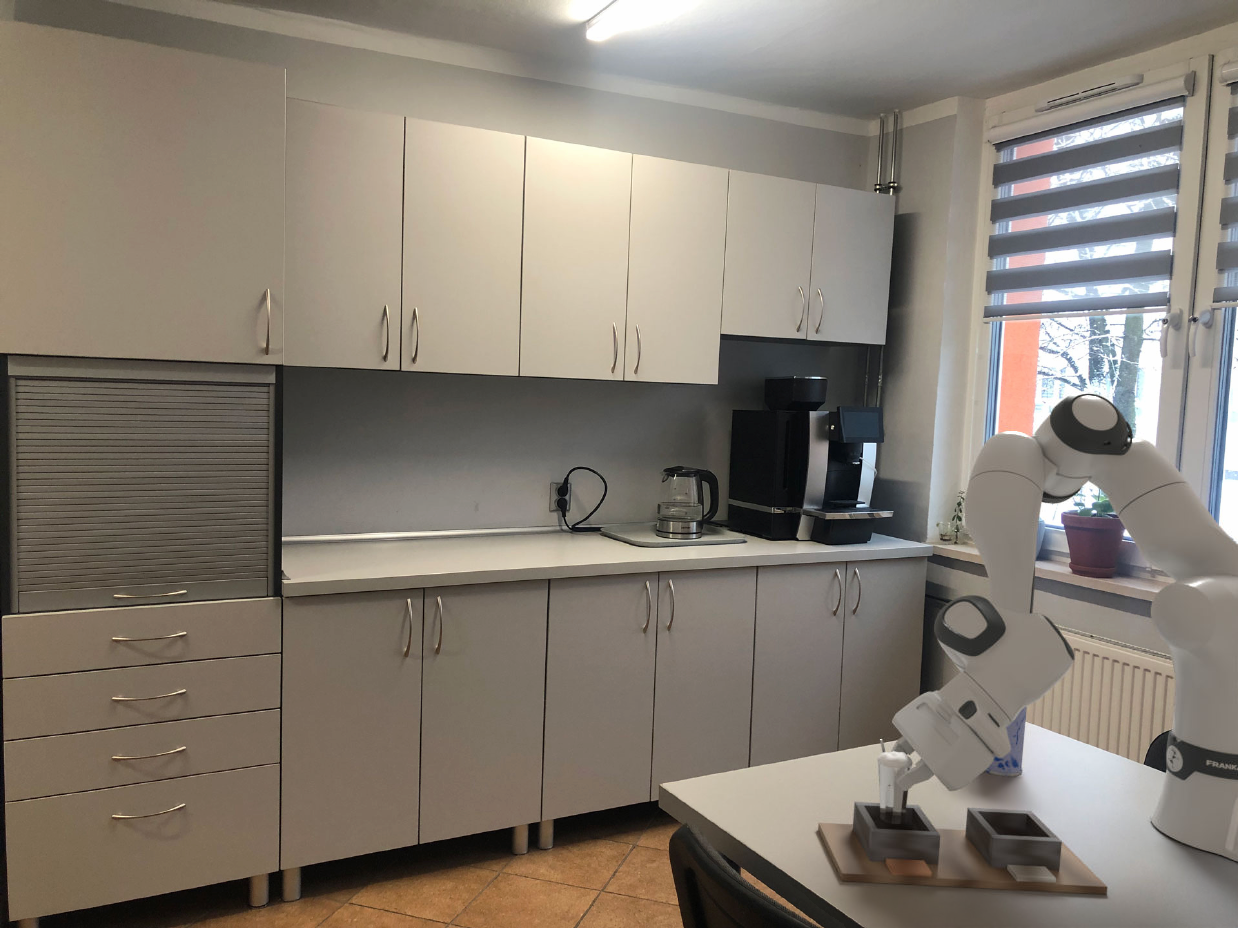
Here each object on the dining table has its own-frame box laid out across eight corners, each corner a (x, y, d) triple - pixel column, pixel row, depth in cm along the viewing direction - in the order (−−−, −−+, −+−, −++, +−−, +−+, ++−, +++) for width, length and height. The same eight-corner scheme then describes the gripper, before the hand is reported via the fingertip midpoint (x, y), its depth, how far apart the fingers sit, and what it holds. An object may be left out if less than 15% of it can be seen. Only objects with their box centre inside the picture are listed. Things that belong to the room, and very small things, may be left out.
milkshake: (891, 808, 128) (894, 737, 127) (916, 823, 123) (920, 750, 122) (864, 811, 126) (867, 740, 126) (888, 827, 121) (892, 753, 121)
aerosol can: (1005, 757, 162) (1014, 647, 160) (1032, 775, 154) (1041, 660, 152) (964, 758, 160) (973, 646, 159) (989, 776, 153) (998, 659, 151)
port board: (1054, 841, 130) (1057, 807, 130) (1106, 894, 116) (1110, 856, 116) (818, 829, 130) (820, 795, 130) (841, 880, 116) (844, 842, 116)
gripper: (929, 670, 133) (858, 731, 134) (984, 719, 113) (899, 791, 114) (957, 701, 134) (885, 762, 134) (1016, 756, 113) (932, 827, 114)
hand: (892, 776), depth 124 cm, fingers closed on milkshake, 4 cm apart
